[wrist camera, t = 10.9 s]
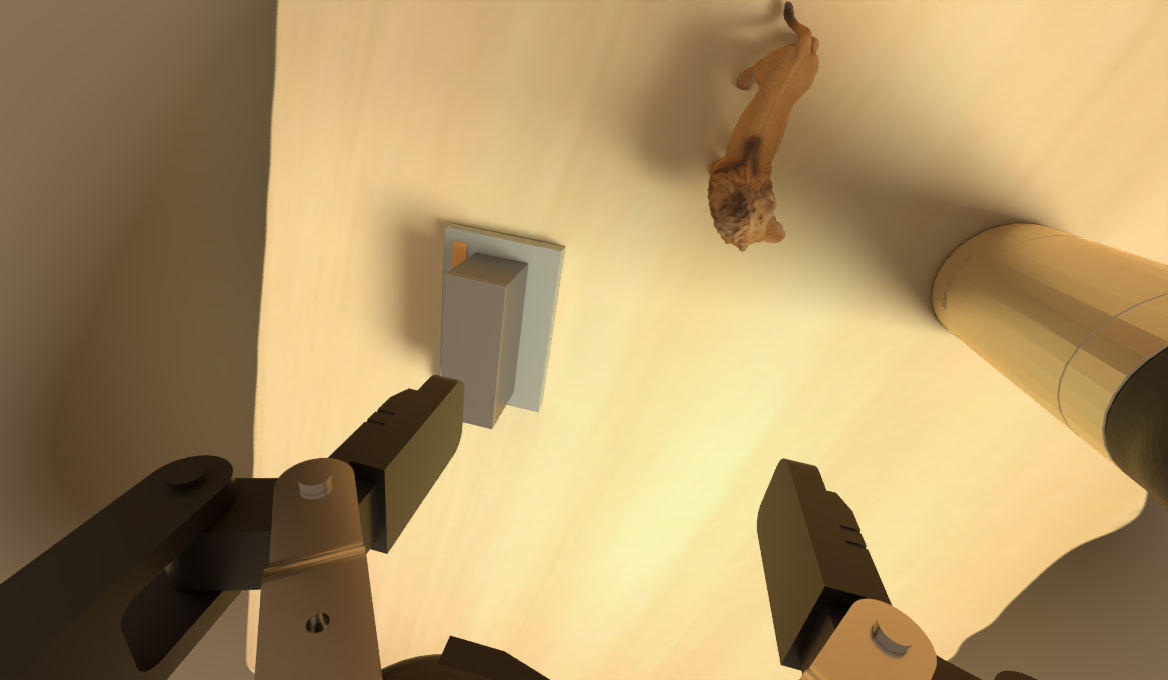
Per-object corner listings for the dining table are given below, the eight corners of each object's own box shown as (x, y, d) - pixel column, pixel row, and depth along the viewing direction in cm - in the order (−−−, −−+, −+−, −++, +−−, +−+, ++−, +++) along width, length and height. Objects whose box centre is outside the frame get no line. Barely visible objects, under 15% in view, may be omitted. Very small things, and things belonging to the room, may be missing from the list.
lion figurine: (763, 232, 38) (786, 264, 30) (695, 221, 39) (699, 250, 31) (826, 7, 32) (875, -28, 24) (742, -1, 32) (763, -39, 24)
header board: (565, 246, 41) (548, 266, 36) (542, 403, 48) (525, 439, 43) (452, 223, 42) (420, 239, 37) (445, 380, 49) (418, 413, 44)
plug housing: (528, 263, 41) (505, 286, 35) (513, 392, 47) (491, 429, 41) (476, 252, 41) (445, 273, 36) (467, 381, 47) (439, 416, 42)
